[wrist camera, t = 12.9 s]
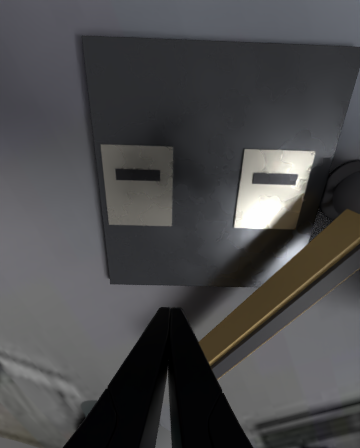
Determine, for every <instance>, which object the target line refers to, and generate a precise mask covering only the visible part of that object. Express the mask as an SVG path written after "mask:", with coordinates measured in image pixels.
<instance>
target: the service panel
mask: <svg viewBox="0 0 360 448" xmlns="http://www.w3.org/2000/svg"><path fill="white" fill-rule="evenodd" d="M82 43H83V51H84V60H85V69H86V77H87V86H88V95H89V103H90V112H91V121H92V129H93V138H94V146H95V155H96V164H97V172H98V181H99V190H100V198H101V207H102V216H103V224H104V233H105V242H106V250H107V259H108V267H109V276H110V284H126V285H174V286H222V287H260V286H262V285H263V284H264V283H265V282H266V281H267V280H268V279H269V278H270V277H272V276H273V275H274V274H275V273H276V272H277V271H278V270H279V269H281V268H282V267H283V266H284V265H285V264H286V263H287V262H288V261H289V260H291V259H292V258H293V257H294V256H295V255H296V254H297V253H298V252H299V251H301V250H302V249H303V248H304V247H305V246H306V245H307V244H308V242H309V238H310V235H311V232H312V228H313V225H314V221H315V218H316V215H317V211H318V208H319V207H320V209H321V211H322V212H323V213H324V214H325V215H326V216H327V217H329V218H331V219H333V220H335V219H336V218H337V217H338V216H339V215H340V214H339V213H337V212H336V210H335V209H334V207H333V194H334V192H335V190H336V188H337V186H338V185H339V184H340V182H341V181H342V180H343V179H345V178H346V177H347V176H349V175H351V174H353V173H355V172H358V171H360V161H352V162H348V163H346V164H343V165H341V166H339V167H338V168H336V169H335V170H334V171H333V172H331V173H330V174H329V170H330V167H331V164H332V160H333V157H334V153H335V150H336V147H337V143H338V140H339V136H340V133H341V130H342V126H343V123H344V119H345V116H346V113H347V109H348V106H349V102H350V99H351V96H352V92H353V89H354V85H355V82H356V79H357V75H358V72H359V68H360V47H347V46H322V45H298V44H274V43H250V42H225V41H201V40H177V39H153V38H128V37H104V36H82ZM328 174H329V175H328Z"/></svg>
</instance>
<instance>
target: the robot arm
mask: <svg viewBox="0 0 360 448" xmlns="http://www.w3.org/2000/svg"><path fill="white" fill-rule="evenodd" d="M167 371H168V384H169V403H170V421H171V440H172V448H253V446H252V445H251V443H250V441H249V439H248V438H247V436H246V434H245V433H244V431H243V429H242V428H241V426H240V424H239V422H238V420H237V418H236V416H235V414H234V413H233V411H232V409H231V407H230V405H229V403H228V401H227V399H226V397H225V395H224V393H222V389H221V387H220V385H219V383H218V381H217V379H216V377H215V375H214V373H213V371H212V369H211V367H210V365H209V363H208V361H207V358H206V356H205V354H204V352H203V350H202V348H201V346H200V344H199V342H198V340H197V338H196V336H195V334H194V332H193V330H192V328H191V326H190V324H189V322H188V320H187V318H186V316H185V314H184V312H183V310H182V309H181V308H171V309H170V308H169V307H161V308H159V310H158V311H157V313H156V314H155V316H154V317H153V319H152V320H151V322H150V323H149V325H148V326H147V328H146V329H145V331H144V332H143V334H142V335H141V337H140V338H139V340H138V341H137V343H136V344H135V346H134V347H133V349H132V350H131V352H130V353H129V355H128V356H127V358H126V359H125V361H124V362H123V364H122V365H121V367H120V368H119V370H118V371H117V373H116V374H115V376H114V377H113V379H112V380H111V382H110V383H109V385H108V389H107V388H106V389H105V391H104V392H103V394H102V395H101V397H100V398H99V400H98V401H97V403H96V404H95V405H94V407H93V408H92V410H91V411H90V413H89V414H88V415H87V417H86V418H85V420H84V421H83V422H82V424H81V425H80V426H79V427H78V429H77V430H76V431H75V433H74V434H73V435H72V437H71V438H70V439H69V440H68V442H67V443H66V444H65V445H64V447H63V448H155V445H156V439H157V433H158V427H159V421H160V415H161V409H162V403H163V397H164V391H165V385H166V379H167Z"/></svg>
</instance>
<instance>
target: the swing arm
mask: <svg viewBox="0 0 360 448" xmlns="http://www.w3.org/2000/svg"><path fill="white" fill-rule="evenodd" d="M333 207H334V209H335V210H336V212H337V213H339V214H340V215H339V216H338V217H337V218H336V219H335V220H334V221H333V222H332V223H331V224H329V225H328V226H327V227H326V228H325V229H324V230H323V231H322V232H321V233H319V234H318V235H317V236H316V237H315V238H314V239H313V240H312V241H311V242H309V243H308V244H307V245H306V246H305V247H304V248H303V249H302V250H301V251H299V252H298V253H297V254H296V255H295V256H294V257H293V258H292V259H291V260H289V261H288V262H287V263H286V264H285V265H284V266H283V267H282V268H281V269H279V270H278V271H277V272H276V273H275V274H274V275H273V276H272V277H270V278H269V279H268V280H267V281H266V282H265V283H264V284H263V285H262V286H260V287H259V288H258V289H257V290H256V291H255V292H254V293H253V294H252V295H250V296H249V297H248V298H247V299H246V300H245V301H244V302H243V303H242V304H240V305H239V306H238V307H237V308H236V309H235V310H234V311H233V312H232V313H230V314H229V315H228V316H227V317H226V318H225V319H224V320H223V321H222V322H220V323H219V324H218V325H217V326H216V327H215V328H214V329H213V330H212V331H210V332H209V333H208V334H207V335H206V336H205V337H204V338H203V339H202V340H200V341H199V344H200V346H201V348H202V350H203V352H204V354H205V356H206V358H207V361H208V363H209V365H210V367H211V369H212V371H213V373H214V375H215V377H216V379H217V380H218V379H219V378H220V377H222V376H223V375H224V374H226V373H227V372H228V371H229V370H231V369H232V368H233V367H235V366H236V365H237V364H238V363H240V362H241V361H242V360H243V359H245V358H246V357H247V356H249V355H250V354H251V353H252V352H254V351H255V350H256V349H258V348H259V347H260V346H261V345H263V344H264V343H265V342H267V341H268V340H269V339H270V338H272V337H273V336H274V335H275V334H277V333H278V332H279V331H281V330H282V329H283V328H284V327H286V326H287V325H288V324H290V323H291V322H292V321H293V320H295V319H296V318H297V317H299V316H300V315H301V314H302V313H304V312H305V311H306V310H307V309H309V308H310V307H311V306H313V305H314V304H315V303H316V302H318V301H319V300H320V299H322V298H323V297H324V296H325V295H327V294H328V293H329V292H330V291H332V290H333V289H334V288H336V287H337V286H338V285H339V284H341V283H342V282H343V281H345V280H346V279H347V278H348V277H350V276H351V275H352V274H354V273H355V272H356V271H357V270H359V269H360V171H358V172H355V173H353V174H351V175H349V176H347V177H346V178H345V179H343V180H342V181H341V182H340V184H339V185H338V186H337V188H336V190H335V192H334V194H333Z"/></svg>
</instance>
